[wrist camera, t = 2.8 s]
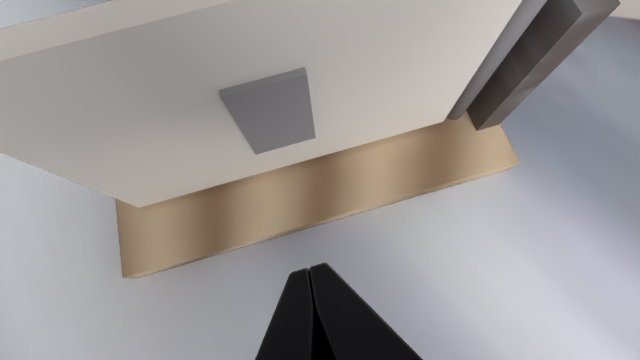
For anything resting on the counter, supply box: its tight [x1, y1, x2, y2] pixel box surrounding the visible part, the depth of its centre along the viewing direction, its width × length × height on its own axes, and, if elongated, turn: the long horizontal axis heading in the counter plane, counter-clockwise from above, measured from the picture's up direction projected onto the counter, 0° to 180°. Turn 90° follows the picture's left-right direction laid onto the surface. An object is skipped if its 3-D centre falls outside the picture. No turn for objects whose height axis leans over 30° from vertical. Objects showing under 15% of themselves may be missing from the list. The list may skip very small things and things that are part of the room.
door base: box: [116, 0, 620, 278], centre depth 16 cm, size 23×8×10 cm, turn 106°
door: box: [0, 0, 547, 208], centre depth 14 cm, size 20×1×11 cm, turn 106°
